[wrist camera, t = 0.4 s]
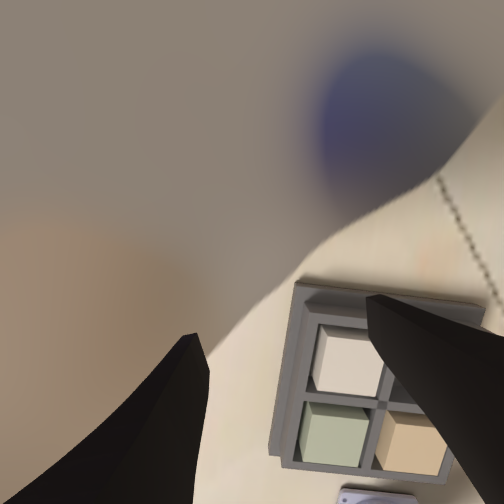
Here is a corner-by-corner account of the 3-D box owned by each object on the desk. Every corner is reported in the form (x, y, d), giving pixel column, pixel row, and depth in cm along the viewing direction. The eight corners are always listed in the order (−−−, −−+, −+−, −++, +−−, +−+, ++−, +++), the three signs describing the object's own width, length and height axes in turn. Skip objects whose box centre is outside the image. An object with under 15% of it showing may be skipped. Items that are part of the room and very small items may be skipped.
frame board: (425, 461, 24) (454, 504, 20) (268, 444, 23) (270, 485, 20) (474, 303, 21) (519, 322, 17) (294, 282, 20) (303, 297, 17)
